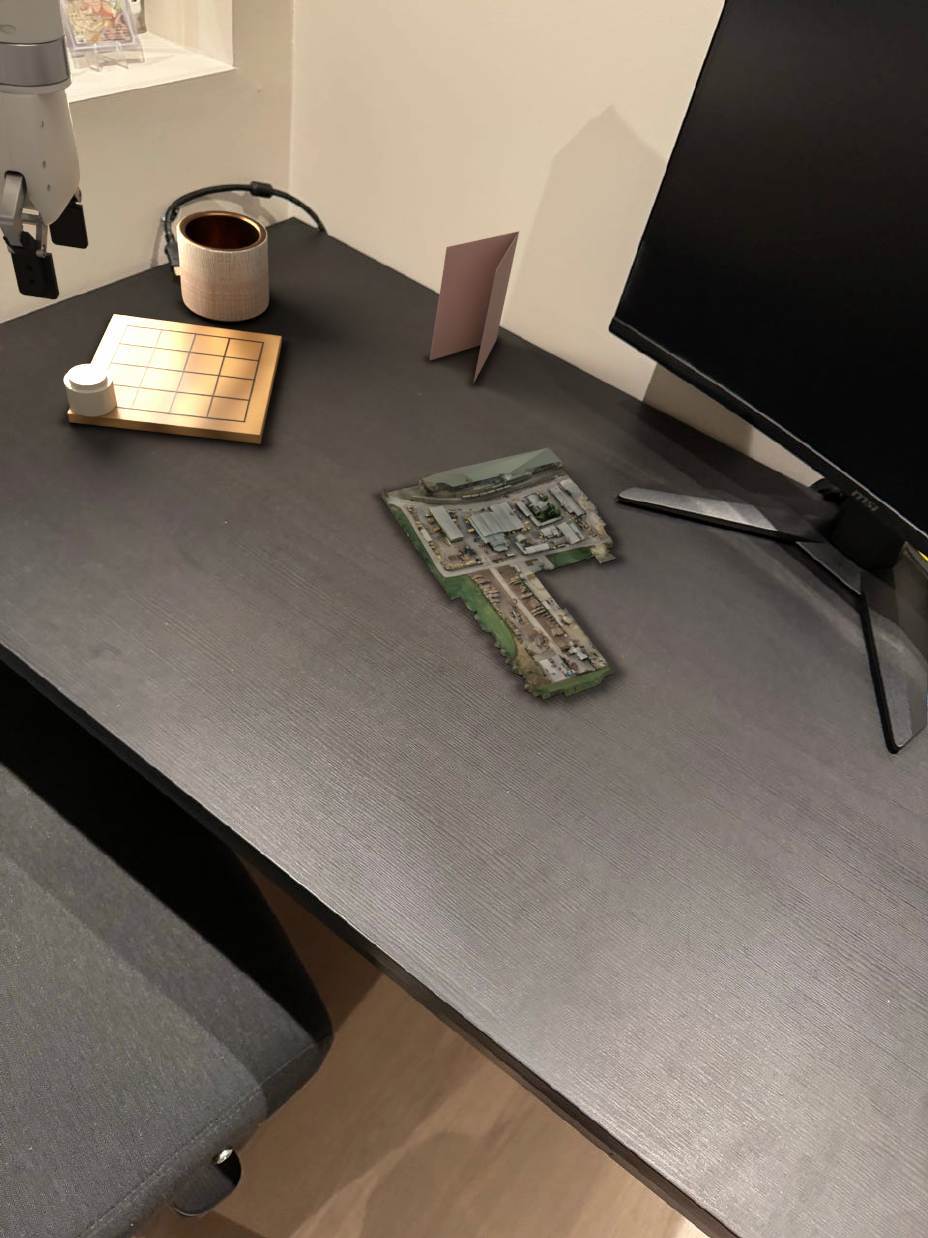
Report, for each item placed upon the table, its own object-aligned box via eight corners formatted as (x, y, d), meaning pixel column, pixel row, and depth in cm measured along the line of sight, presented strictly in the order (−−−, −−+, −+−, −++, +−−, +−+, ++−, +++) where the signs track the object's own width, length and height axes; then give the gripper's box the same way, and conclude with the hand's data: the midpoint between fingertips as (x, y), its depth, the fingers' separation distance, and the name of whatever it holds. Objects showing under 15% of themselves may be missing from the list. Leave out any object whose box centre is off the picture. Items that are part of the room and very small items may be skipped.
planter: (260, 331, 107) (259, 258, 100) (173, 317, 106) (165, 242, 98) (275, 288, 114) (275, 218, 107) (193, 275, 113) (187, 202, 106)
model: (525, 712, 75) (529, 702, 74) (381, 497, 90) (382, 485, 89) (704, 643, 84) (711, 633, 83) (545, 458, 99) (549, 447, 98)
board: (69, 422, 90) (67, 412, 89) (115, 322, 103) (113, 313, 102) (260, 443, 93) (260, 434, 92) (281, 344, 106) (281, 335, 105)
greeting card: (492, 336, 115) (514, 227, 104) (527, 365, 112) (554, 256, 100) (425, 356, 109) (441, 243, 98) (461, 387, 106) (482, 273, 95)
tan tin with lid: (63, 413, 89) (56, 384, 86) (75, 387, 92) (69, 358, 89) (110, 419, 89) (105, 390, 87) (121, 392, 92) (116, 364, 90)
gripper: (1, 15, 70) (40, 222, 83) (-82, 82, 59) (-21, 311, 71) (96, 33, 71) (121, 234, 84) (33, 102, 60) (73, 323, 72)
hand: (56, 269), depth 77 cm, fingers open, 9 cm apart
